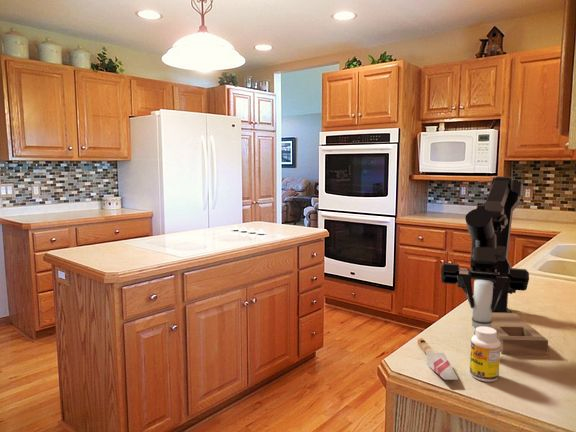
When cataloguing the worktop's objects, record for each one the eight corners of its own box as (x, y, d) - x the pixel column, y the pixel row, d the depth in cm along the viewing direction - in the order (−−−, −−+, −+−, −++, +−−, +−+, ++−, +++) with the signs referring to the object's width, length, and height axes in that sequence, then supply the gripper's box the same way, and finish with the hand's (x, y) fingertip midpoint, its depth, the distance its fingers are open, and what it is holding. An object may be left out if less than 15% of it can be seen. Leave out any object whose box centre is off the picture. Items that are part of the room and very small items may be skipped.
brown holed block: (475, 324, 119) (476, 312, 118) (513, 325, 118) (514, 312, 117) (502, 353, 101) (503, 339, 100) (547, 354, 100) (548, 340, 100)
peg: (468, 330, 103) (471, 279, 101) (487, 330, 103) (489, 279, 101) (474, 337, 99) (477, 284, 97) (493, 338, 98) (496, 284, 97)
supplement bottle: (464, 371, 93) (466, 325, 92) (487, 368, 94) (489, 323, 93) (480, 384, 88) (482, 336, 86) (504, 381, 89) (507, 333, 87)
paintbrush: (441, 372, 87) (413, 336, 106) (441, 385, 87) (413, 347, 107) (461, 372, 87) (429, 336, 106) (460, 385, 87) (429, 346, 107)
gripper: (443, 230, 105) (438, 287, 96) (530, 234, 98) (534, 296, 89) (443, 255, 113) (439, 309, 104) (524, 261, 106) (527, 320, 97)
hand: (482, 308), depth 99 cm, fingers closed on peg, 4 cm apart
